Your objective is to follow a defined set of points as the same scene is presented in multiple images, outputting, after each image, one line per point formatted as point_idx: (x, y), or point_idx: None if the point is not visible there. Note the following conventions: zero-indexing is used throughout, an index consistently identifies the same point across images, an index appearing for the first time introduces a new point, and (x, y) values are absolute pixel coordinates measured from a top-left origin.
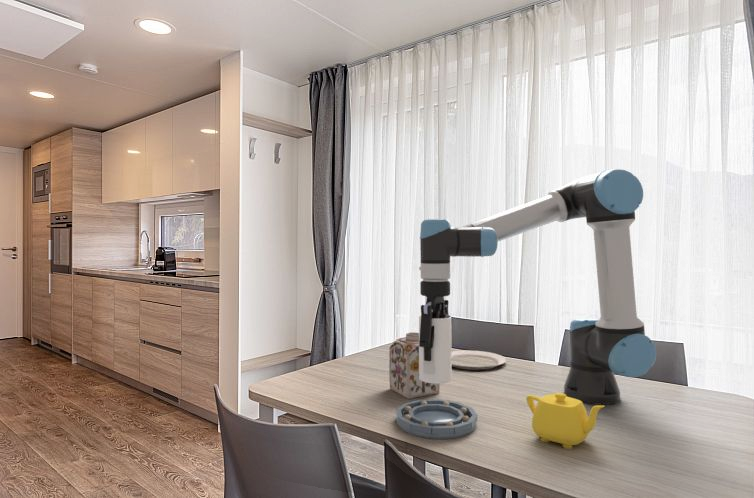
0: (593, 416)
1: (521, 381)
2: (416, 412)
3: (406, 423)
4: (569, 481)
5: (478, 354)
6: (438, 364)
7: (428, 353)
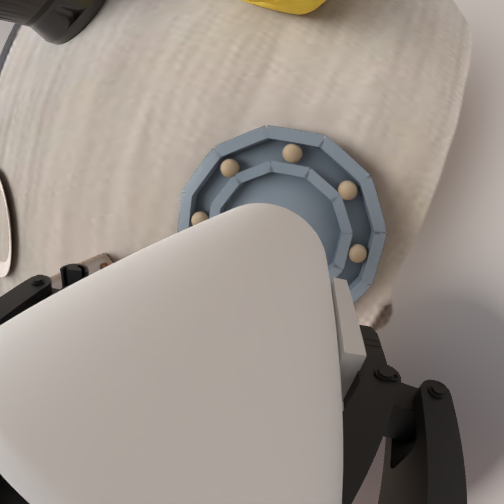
0: None
1: (29, 119)
2: None
3: (358, 296)
4: (443, 10)
5: None
6: (328, 276)
7: (380, 359)
